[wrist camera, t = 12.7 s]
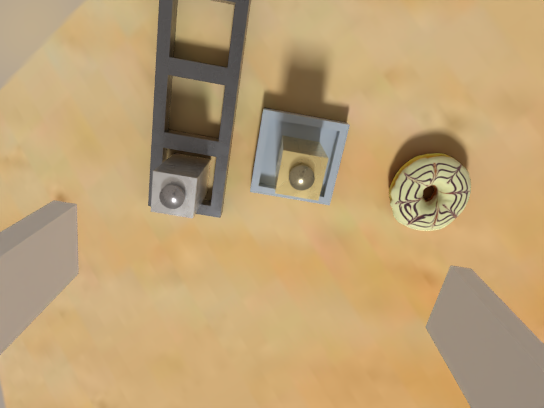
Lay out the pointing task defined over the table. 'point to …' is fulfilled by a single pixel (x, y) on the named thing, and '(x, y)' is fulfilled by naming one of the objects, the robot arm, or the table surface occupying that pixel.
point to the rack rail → (201, 72)
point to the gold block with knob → (300, 168)
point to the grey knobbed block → (180, 185)
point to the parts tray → (304, 128)
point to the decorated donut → (444, 201)
